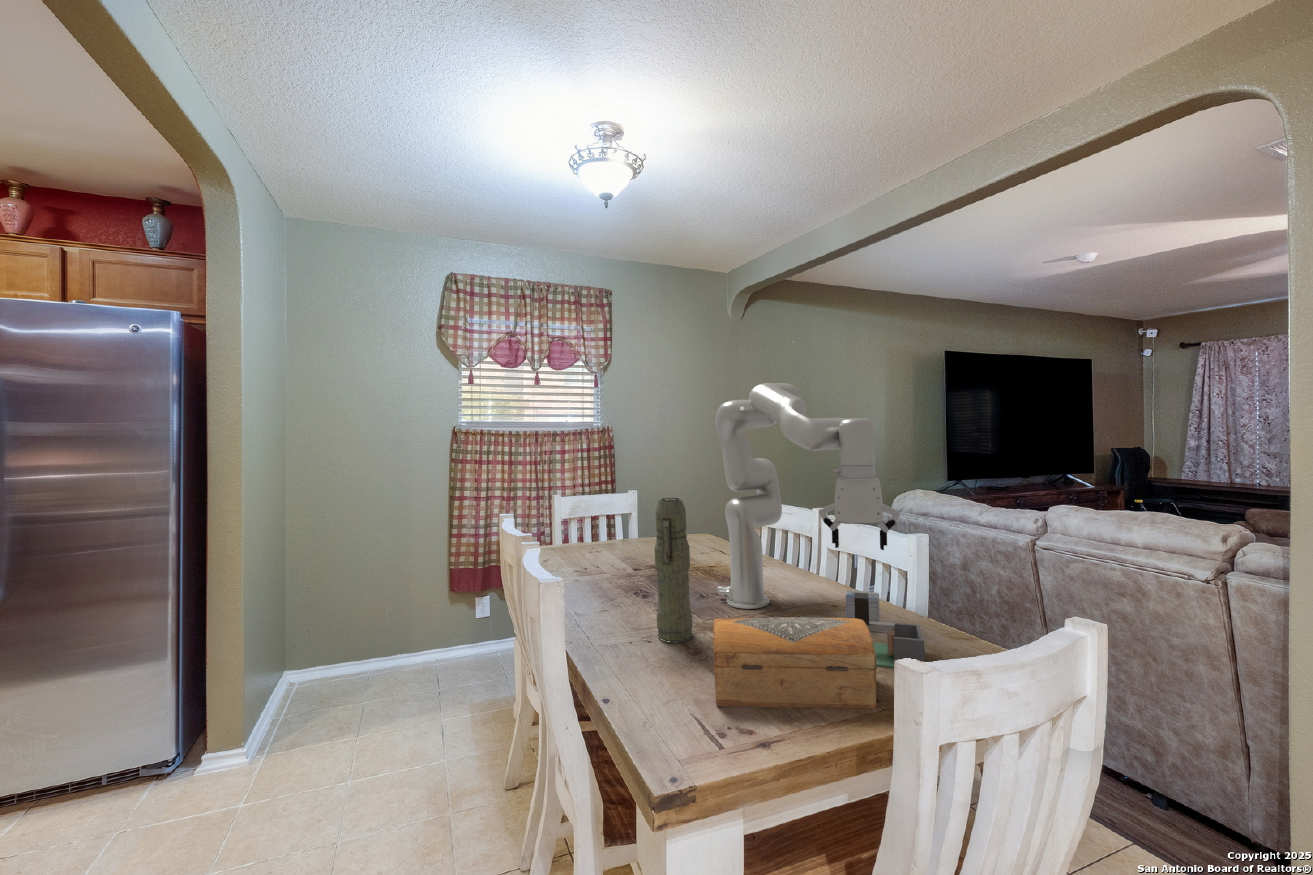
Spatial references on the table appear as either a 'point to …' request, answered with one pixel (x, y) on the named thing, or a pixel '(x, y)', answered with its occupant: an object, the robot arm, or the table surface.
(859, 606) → the grey brown blocky piece
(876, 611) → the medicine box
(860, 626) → the wooden box
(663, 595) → the thermos
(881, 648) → the pitch mat
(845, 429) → the robot arm
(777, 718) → the table surface
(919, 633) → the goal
